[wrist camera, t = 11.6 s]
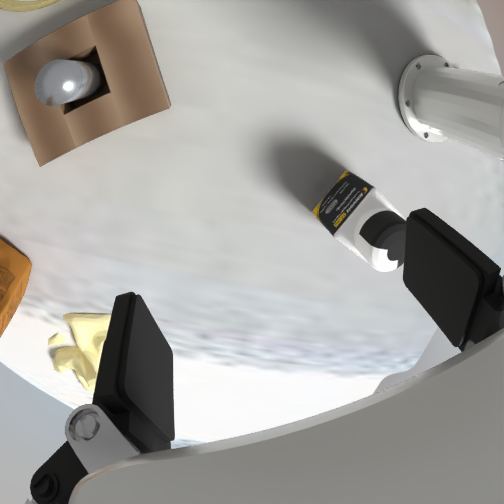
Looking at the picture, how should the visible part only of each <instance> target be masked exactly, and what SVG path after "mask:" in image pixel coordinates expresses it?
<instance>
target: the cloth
mask: <svg viewBox="0 0 504 504" xmlns="http://www.w3.org/2000/svg"><path fill="white" fill-rule="evenodd" d="M110 319H111V314H76V313H69V314H65V315H64V316H63V320H65V321H66V322H67V323H68V324H69V325H70V326H71V328H72V331H73V333H74V338H75V341H76V344H77V346H76V347H63V348H60V349H57V350H56V352H55V357H54V358H53V366H54V370H56V371H57V372H60V373H63V372H65V371H66V370H67V369H72V370H75V373H76V375H77V378H78V379H79V380H80V382H81V383H82V385H83V387H84V388H85V389H86V390H87V391H90V392H94V389H95V384H96V378H97V373H98V368H99V363H100V358H101V353H102V348H103V344H104V341H105V340H106V336H107V331H108V327H109V323H110ZM65 341H66V339H65V337H63V336H62V335H60V334H59V333H58V334H56V335H55V336H54V337H51V338H50V339H48V345H49V346H50V345H58V344H64V343H65Z"/></svg>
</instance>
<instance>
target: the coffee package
mask: <svg viewBox="0 0 504 504" xmlns="http://www.w3.org/2000/svg"><path fill="white" fill-rule="evenodd" d="M31 266H32V263H31V261H30V260H29V259H28V258H27V257H25V256H24V255H22V254H21V253H20V252H18V251H17V250H15V249H14V248H12V247H11V246H9V245H8V244H6V243H5V242H4V241H3V240H2V239H0V337H1V335H2V334H3V332H4V330H5V329H6V327H7V326H8V324H9V322H10V321H11V319H12V317H13V315H14V313H15V312H16V310H17V308H18V306H19V304H20V302H21V300H22V298H23V296H24V293H25V290H26V287H27V284H28V279H29V276H30V272H31Z"/></svg>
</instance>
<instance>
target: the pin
mask: <svg viewBox="0 0 504 504" xmlns="http://www.w3.org/2000/svg"><path fill="white" fill-rule="evenodd" d="M105 83H106V76H105V73H104V70H103V67H102V66H101V65H99V64H96V63H89V62H81V61H71V60H60V59H58V60H53V61H50V62H48V63H47V64H46V65H44V66H43V67H42V68H41V70H40V71H39V73H38V75H37V77H36V80H35V93H36V96H37V98H38V99H39V100H40V101H41V102H42V103H43V104H45V105H48V106H57V105H60V104H63V103H67V102H71V101H74V100H78V99H82V98H85V97H89V96H93V95H96V94H97V93H99V92H100V91H101V90H102V89H103V87H104V86H105Z"/></svg>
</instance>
